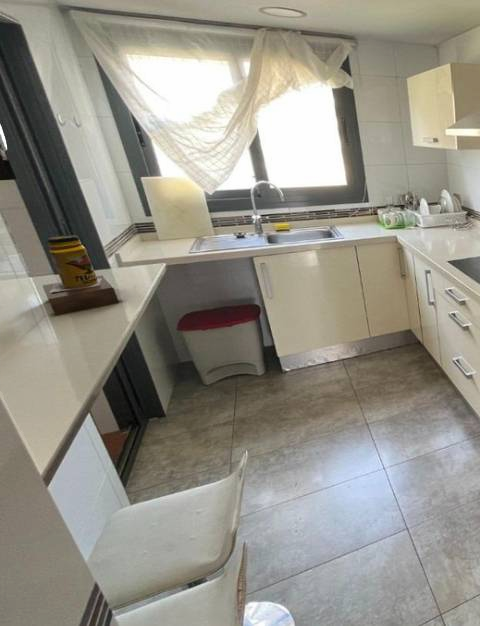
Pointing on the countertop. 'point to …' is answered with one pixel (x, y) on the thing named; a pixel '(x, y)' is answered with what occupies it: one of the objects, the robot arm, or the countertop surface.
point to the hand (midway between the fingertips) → (6, 178)
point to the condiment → (71, 263)
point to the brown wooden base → (81, 297)
